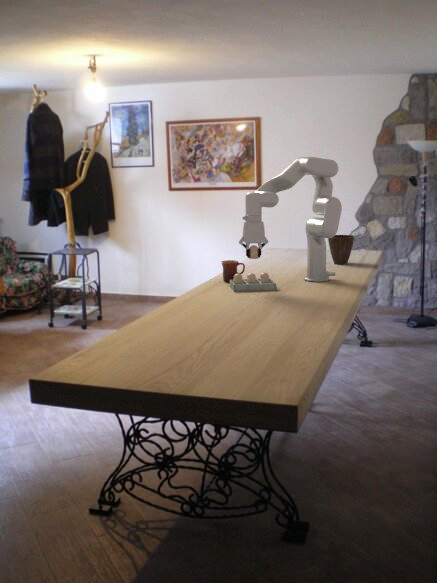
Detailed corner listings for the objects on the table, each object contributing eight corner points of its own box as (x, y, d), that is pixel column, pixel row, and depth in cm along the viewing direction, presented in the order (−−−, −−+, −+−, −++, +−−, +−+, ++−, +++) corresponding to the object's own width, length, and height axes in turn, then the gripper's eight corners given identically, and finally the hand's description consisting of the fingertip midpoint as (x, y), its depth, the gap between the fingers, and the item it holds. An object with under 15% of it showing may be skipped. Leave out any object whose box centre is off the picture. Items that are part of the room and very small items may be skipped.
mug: (220, 283, 333) (220, 263, 331) (222, 279, 342) (222, 260, 340) (244, 283, 332) (244, 262, 330) (245, 279, 340) (245, 260, 338)
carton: (270, 284, 327) (270, 270, 326) (276, 289, 314) (275, 275, 312) (229, 286, 325) (229, 272, 323) (234, 291, 311) (233, 277, 310)
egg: (259, 258, 311) (259, 245, 310) (249, 259, 310) (249, 245, 309) (257, 257, 315) (257, 244, 314) (248, 257, 315) (248, 244, 313)
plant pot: (322, 262, 387) (322, 235, 383) (343, 260, 393) (343, 234, 390) (337, 266, 373) (337, 238, 370) (358, 264, 380) (359, 236, 376)
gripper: (237, 220, 304) (237, 259, 308) (272, 219, 307) (272, 258, 310) (234, 218, 312) (234, 256, 315) (269, 217, 314) (269, 255, 317)
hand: (253, 257), depth 313 cm, fingers closed on egg, 4 cm apart
